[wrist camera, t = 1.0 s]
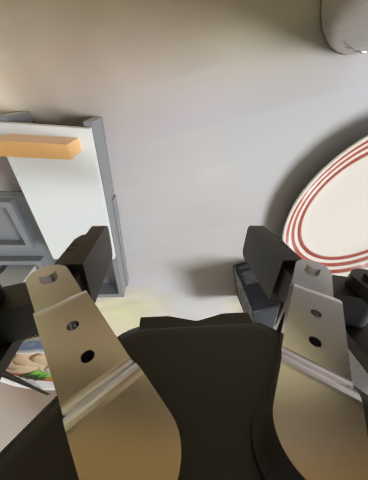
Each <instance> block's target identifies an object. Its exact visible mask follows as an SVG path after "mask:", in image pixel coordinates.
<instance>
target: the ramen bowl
mask: <svg viewBox="0 0 368 480" xmlns="http://www.w3.org/2000/svg"><path fill="white" fill-rule="evenodd" d="M0 382H3V383H6V384H9V385H12V386H16V387H22V388H28V389H33V390H36V391H38V392H41V393H43V394H46V395H48V394H49V393H47V392H45V391H43V390H55V387H54V384H53V380H52V377H51V374H50V370H49V367H48V363H47V360H46V357H45V353H44V350H43V347H42V343H41V340H40V336H38V337H34V338H31V339H27V340H24V341H23V343H22V344H21V346H20V348H19V349H18V351H17V353H16V354H15V356H14V358H13V359H12V361H11V363H10V364H9V366H8V368H7V370H6V371H5V373H4V375H3V376H2V378H1V380H0Z"/></svg>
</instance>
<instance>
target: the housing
mask: <svg viewBox="0 0 368 480" xmlns="http://www.w3.org/2000/svg"><path fill="white" fill-rule="evenodd" d="M0 121H4V122H19V123H33V124H34V122H33V119H32V116H31V113H30V112H28V111H20V112H14V113H8V114H2V115H0ZM83 125H84V127H92V133H93V138H94V143H95V148H96V154H97V159H98V164H99V169H100V175H101V180H102V185H103V191H104V196H105V201H106V206H107V212H108V217H109V222H110V228H111V233H112V238H113V243H114V249H115V254H116V256H115V259H112V261H111V264H110V266H109V269H108V271H107V274H106V276H105V279H104V281H103V284H102V286H101V289H100V292H99V294H98V297H124V295H125V290H126V286H127V285H128V273H127V267H126V260H125V253H124V247H123V240H122V234H121V227H120V220H119V214H118V207H117V200H116V195H114V190H113V184H112V178H111V171H110V165H109V158H108V152H107V146H106V139H105V133H104V126H103V120H102V117H95V116H94V117H92V118H90V119H87V120H85V121H83ZM57 260H58V259H53V257H52V255H51V252H50V250H49V248H48V246H47V244H46V242H45V239H44V237H43V235H42V233H41V231H40V228H39V226H38V224H37V222H36V220H35V218H34V215H33V213H32V211H31V209H30V207H29V205H28V202H27V200H26V198H25V196H24V194H23V192H12V191H0V283H1V285H2V287H5V286H10V285H14V284H19V283H24V282H26V279H27V277H28V276H29V275H30V274H31V273H33V272H34V271H36V270H38V269H40V268H42V267H45V266H49V265H54V264H55V262H56V261H57Z"/></svg>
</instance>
